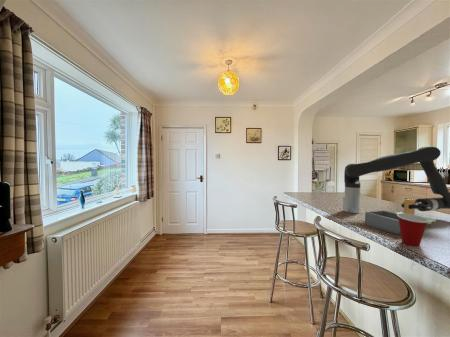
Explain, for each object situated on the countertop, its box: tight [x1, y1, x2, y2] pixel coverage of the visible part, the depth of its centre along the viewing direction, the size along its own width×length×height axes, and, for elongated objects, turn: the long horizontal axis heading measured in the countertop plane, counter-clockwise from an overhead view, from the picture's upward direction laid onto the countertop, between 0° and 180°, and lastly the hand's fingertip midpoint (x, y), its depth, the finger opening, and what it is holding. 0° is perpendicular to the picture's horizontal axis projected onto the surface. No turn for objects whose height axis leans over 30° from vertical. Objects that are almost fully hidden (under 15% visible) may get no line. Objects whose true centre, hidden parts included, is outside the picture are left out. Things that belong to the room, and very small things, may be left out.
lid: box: [396, 198, 437, 225], centre depth 125 cm, size 18×14×12 cm
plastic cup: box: [397, 212, 430, 247], centre depth 94 cm, size 11×11×12 cm
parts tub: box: [364, 210, 401, 236], centre depth 115 cm, size 18×14×7 cm
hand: (405, 206), depth 124 cm, fingers closed on lid, 3 cm apart
